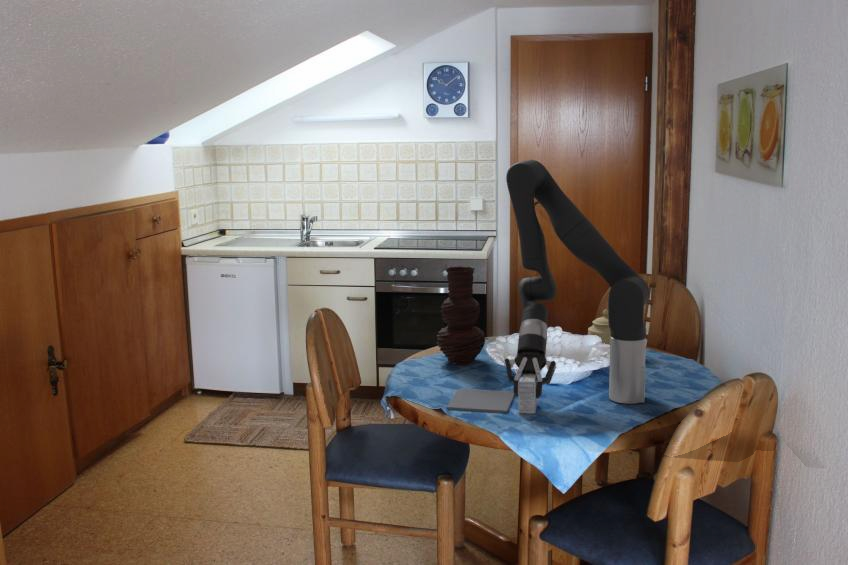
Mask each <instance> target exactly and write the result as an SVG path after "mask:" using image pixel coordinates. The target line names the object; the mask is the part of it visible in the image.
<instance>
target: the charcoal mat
mask: <svg viewBox="0 0 848 565" xmlns="http://www.w3.org/2000/svg"><path fill="white" fill-rule="evenodd" d="M514 398H515V395H514V391H511V390H510V391H508V390H492V389H474V388H473V389H472V388H457V390H456V391H455V394H454V395H453V396H452V398H451V400H450V401H449V403H448V404H447V405H446V410H452V409H455V410H456V411H470V412H471V411H472V412H483V413H485V412H486V413H487V412H488V413H500V412H502V414H503V413H504V414H508V412H509V409H510V407H511V404H512V402H513V400H514ZM455 410H454V411H455ZM505 412H506V413H505Z"/></svg>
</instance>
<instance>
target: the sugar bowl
mask: <svg viewBox="0 0 848 565" xmlns="http://www.w3.org/2000/svg"><path fill="white" fill-rule="evenodd" d="M602 315H603V316H601V317H597V318H595V319H594V320H593V321H592V325H591V326H589V327H588V328H587V330H588V331H587V336H588V335H597V336H599V337H601V339H602V343H605V344H609V345H610V328H609V322H608V308H605V309H603V311H602Z"/></svg>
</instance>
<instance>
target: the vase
mask: <svg viewBox="0 0 848 565" xmlns="http://www.w3.org/2000/svg"><path fill="white" fill-rule="evenodd" d="M445 272H446V273H447V274H446V276H447V283H448V284H447V291H448V292H447V295H448V297H447V298H446V299H444V300H443V303H441V306H440V309H441V310H440V312H441V316H442V317H441V319H442V320H443V323H445V326H446V327H443V328H441V329H440V331H438V332H437V333H438V334H437V335H436V337H437V338H436V341H437V342H436V344H438V348H439V351H441V352H442V354H443V355H444V358H447V361H448V363H449V364H451V365H456V366H457V365H458V366H459V365H461V366H462V365H464V366H465V365H470V363H471V364H474V363H473V362H474V361H475V359H476V358H477V357H478V355H480V354H481V352H482V350H483V348H484V347H485V342H486V337H485V331H484V330H482V329H481V328H480V327H478V326H476V324H477V323H478V322H479V318H480V316H481V315H480V314H481V308H482V307H481V305H480V303H479V301H478V300H477V299H475V298H474V297H473V293H474V289H473V286H474V283H473V281H474V272H475V267H471V266H461V265H460V266H450V267H447V268H446V267H445Z"/></svg>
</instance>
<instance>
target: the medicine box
mask: <svg viewBox="0 0 848 565" xmlns="http://www.w3.org/2000/svg"><path fill="white" fill-rule="evenodd" d="M537 382H538V381H537V376H536V374H531V373H525V374H524V373H523V375H521V376H520V379H519V382H518V397H517V398H518V400H517V401H518V402H517V405H518V414H524V413H525V415H527V414H528V415H529V414H530V415H531V414H532V415H536V413H537V412H536V411H537V406H538V398H536V384H537Z"/></svg>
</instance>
